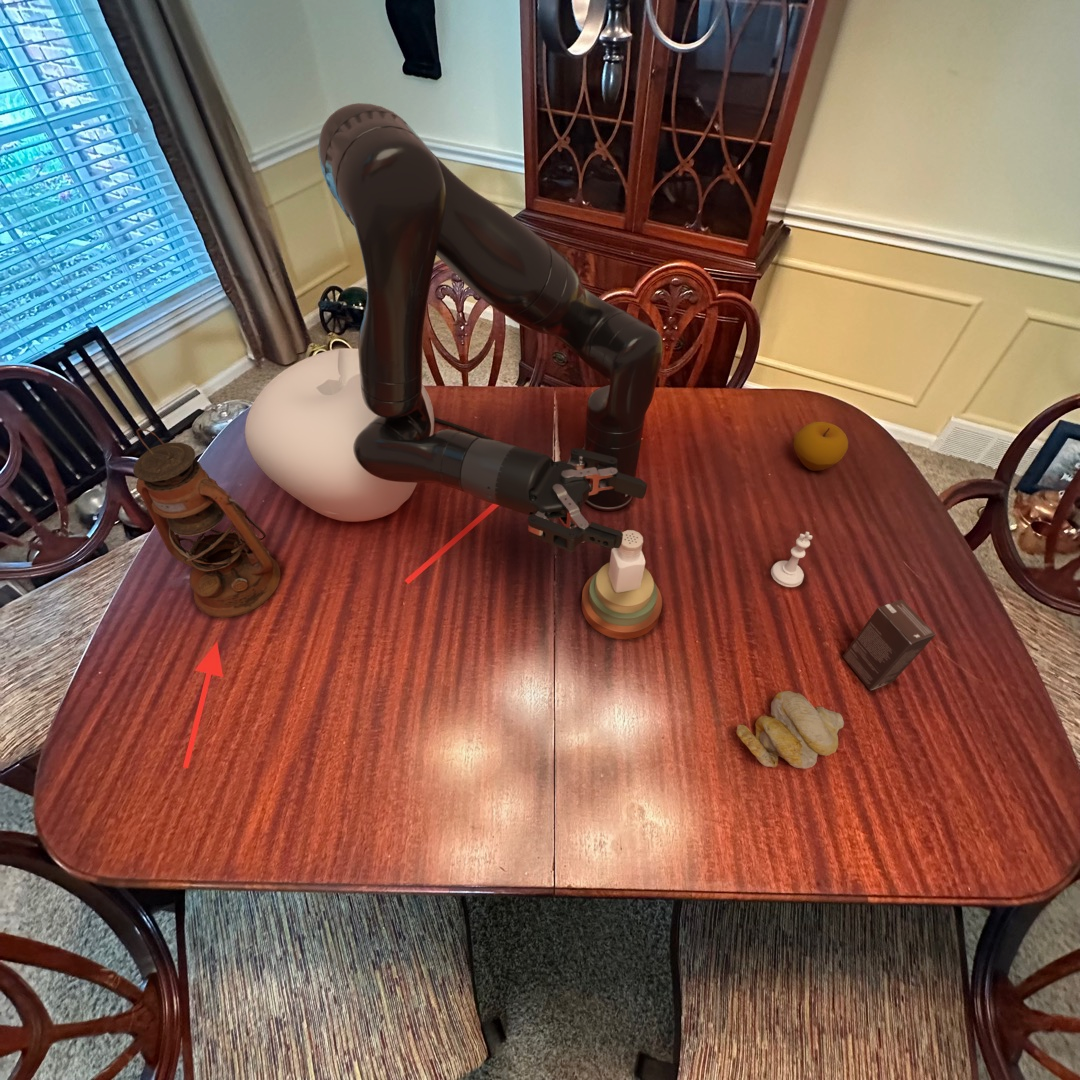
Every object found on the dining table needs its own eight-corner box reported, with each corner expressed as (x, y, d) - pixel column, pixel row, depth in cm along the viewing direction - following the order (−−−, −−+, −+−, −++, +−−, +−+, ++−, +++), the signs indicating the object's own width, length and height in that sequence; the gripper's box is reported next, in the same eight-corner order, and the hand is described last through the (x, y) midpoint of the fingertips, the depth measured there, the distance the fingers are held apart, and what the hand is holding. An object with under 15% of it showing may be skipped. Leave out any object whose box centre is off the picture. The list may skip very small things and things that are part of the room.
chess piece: (804, 589, 94) (827, 548, 86) (771, 584, 94) (791, 542, 87) (801, 565, 97) (823, 523, 89) (770, 560, 97) (789, 518, 90)
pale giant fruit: (373, 582, 95) (332, 464, 76) (251, 519, 103) (188, 400, 85) (472, 477, 111) (459, 358, 92) (359, 430, 119) (326, 314, 101)
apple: (776, 464, 113) (791, 426, 106) (802, 443, 117) (818, 405, 110) (819, 488, 108) (838, 450, 102) (845, 466, 112) (864, 428, 106)
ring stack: (566, 614, 91) (567, 590, 86) (606, 563, 97) (609, 538, 93) (637, 653, 86) (642, 630, 82) (673, 597, 93) (680, 573, 88)
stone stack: (879, 748, 71) (756, 753, 70) (859, 774, 75) (743, 779, 74) (841, 679, 78) (730, 682, 77) (825, 706, 82) (719, 710, 81)
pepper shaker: (632, 569, 89) (640, 525, 82) (641, 590, 86) (650, 547, 79) (606, 573, 88) (612, 529, 81) (614, 595, 86) (621, 552, 78)
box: (895, 681, 83) (938, 634, 74) (868, 691, 82) (909, 645, 73) (865, 646, 87) (903, 597, 78) (839, 655, 86) (875, 607, 77)
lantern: (164, 609, 91) (41, 459, 69) (209, 545, 100) (113, 393, 77) (269, 625, 89) (177, 476, 67) (305, 558, 98) (235, 406, 75)
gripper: (476, 491, 66) (616, 536, 62) (531, 417, 75) (657, 452, 70) (482, 536, 72) (610, 580, 67) (532, 462, 80) (648, 497, 76)
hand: (634, 514), depth 69 cm, fingers open, 8 cm apart
